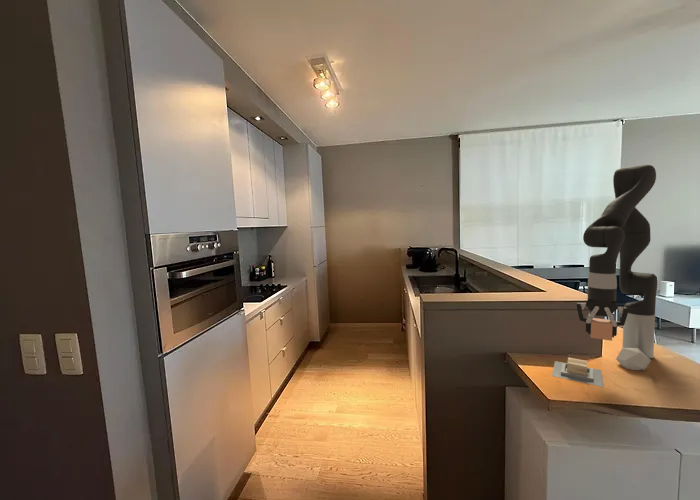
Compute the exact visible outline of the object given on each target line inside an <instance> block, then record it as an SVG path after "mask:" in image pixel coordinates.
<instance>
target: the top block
mask: <svg viewBox="0 0 700 500" xmlns="http://www.w3.org/2000/svg"><path fill="white" fill-rule="evenodd" d="M612 329H613V324H612V323H611V321H610V319H605V318H598V317H597V318H596V317H594V318H593V319H592V320H591V334H589V335H590V339H591V338H592V339H598V340H605V341H610V342H612V341H613V337H612Z"/></svg>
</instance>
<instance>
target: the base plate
mask: <svg viewBox="0 0 700 500" xmlns="http://www.w3.org/2000/svg"><path fill="white" fill-rule="evenodd" d="M551 377H556V378H560V379H565V380H569V381H575V382H578V383H583V384H587V385H591V386H597V387H600V388H601V387H602V388H604V379H603V378H604V377H603V370H602V369H597V368H592V367H588V366H587V376H583V375H579V374H574V373H569V372H567V362H562V361H557V360H556V361H554V364H553V369H552V373H551Z"/></svg>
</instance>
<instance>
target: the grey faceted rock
mask: <svg viewBox="0 0 700 500" xmlns="http://www.w3.org/2000/svg"><path fill="white" fill-rule="evenodd" d="M615 360H616V361H617V362H618V363H619V364H620V365H621V366H622V367H623V368H625V369H627V370H632V371H645V370H646V369H647V367H648V366H649V364H651V361H652V360H651V359H649V358H648V357H647V356H646V355H645V354H644V353H643V352H642V351H640V350H639V349H638V348H622V347H621V350H620V351H619V353H618V355H617V356H616V358H615Z"/></svg>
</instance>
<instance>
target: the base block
mask: <svg viewBox="0 0 700 500" xmlns="http://www.w3.org/2000/svg"><path fill="white" fill-rule="evenodd" d="M566 363H567V372H569V373H574V374H579V375H583V376H587V367H588V360H584V359H579V358H573V357H567V362H566Z"/></svg>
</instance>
